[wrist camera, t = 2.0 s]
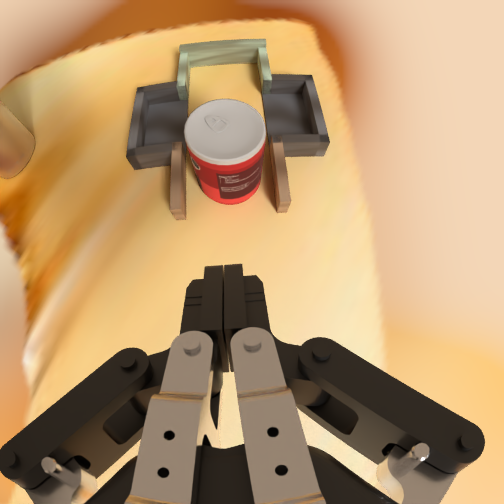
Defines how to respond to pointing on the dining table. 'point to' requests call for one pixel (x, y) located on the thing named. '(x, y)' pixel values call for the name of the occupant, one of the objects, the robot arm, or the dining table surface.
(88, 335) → the dining table surface
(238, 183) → the canned food
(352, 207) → the dining table surface
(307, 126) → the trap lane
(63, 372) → the dining table surface
